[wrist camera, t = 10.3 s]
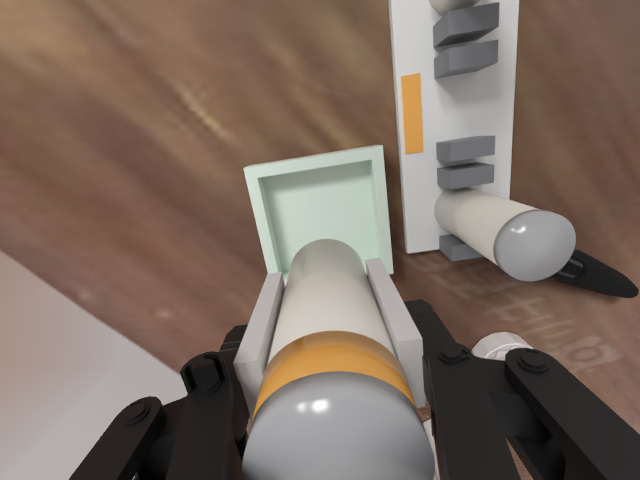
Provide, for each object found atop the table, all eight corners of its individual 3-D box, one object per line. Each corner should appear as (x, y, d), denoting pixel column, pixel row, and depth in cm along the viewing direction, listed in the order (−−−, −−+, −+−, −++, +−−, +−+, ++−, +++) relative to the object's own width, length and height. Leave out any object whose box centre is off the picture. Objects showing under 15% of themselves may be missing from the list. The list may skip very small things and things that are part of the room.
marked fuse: (282, 243, 17) (220, 411, 6) (360, 232, 17) (432, 387, 6) (295, 311, 18) (263, 544, 8) (368, 302, 18) (437, 526, 8)
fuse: (432, 188, 28) (501, 218, 18) (480, 181, 28) (580, 206, 17) (434, 233, 30) (499, 286, 19) (480, 226, 29) (571, 275, 19)
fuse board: (384, -65, 23) (396, -103, 19) (517, -91, 22) (555, -135, 19) (405, 251, 31) (417, 266, 27) (502, 237, 31) (527, 250, 27)
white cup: (536, 368, 36) (614, 450, 27) (472, 388, 37) (525, 474, 28) (524, 317, 34) (605, 386, 24) (456, 340, 35) (508, 415, 25)
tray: (250, 165, 28) (243, 168, 26) (376, 144, 28) (382, 145, 25) (275, 278, 32) (272, 291, 29) (387, 262, 31) (393, 273, 29)
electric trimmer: (597, 296, 33) (626, 312, 30) (483, 252, 30) (503, 265, 27) (619, 267, 32) (652, 280, 29) (503, 218, 29) (527, 228, 26)
